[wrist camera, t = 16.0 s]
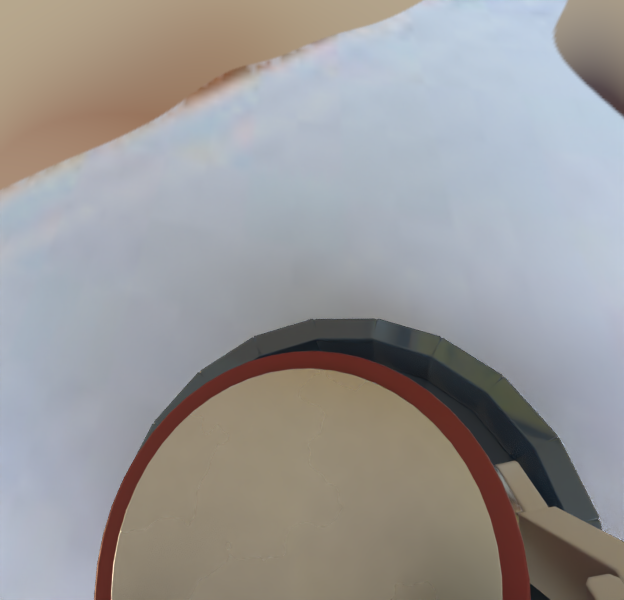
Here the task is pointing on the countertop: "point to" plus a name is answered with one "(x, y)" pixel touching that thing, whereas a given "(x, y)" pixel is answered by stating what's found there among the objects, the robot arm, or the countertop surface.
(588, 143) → the countertop surface
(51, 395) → the countertop surface
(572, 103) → the countertop surface
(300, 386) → the can
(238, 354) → the bowl
